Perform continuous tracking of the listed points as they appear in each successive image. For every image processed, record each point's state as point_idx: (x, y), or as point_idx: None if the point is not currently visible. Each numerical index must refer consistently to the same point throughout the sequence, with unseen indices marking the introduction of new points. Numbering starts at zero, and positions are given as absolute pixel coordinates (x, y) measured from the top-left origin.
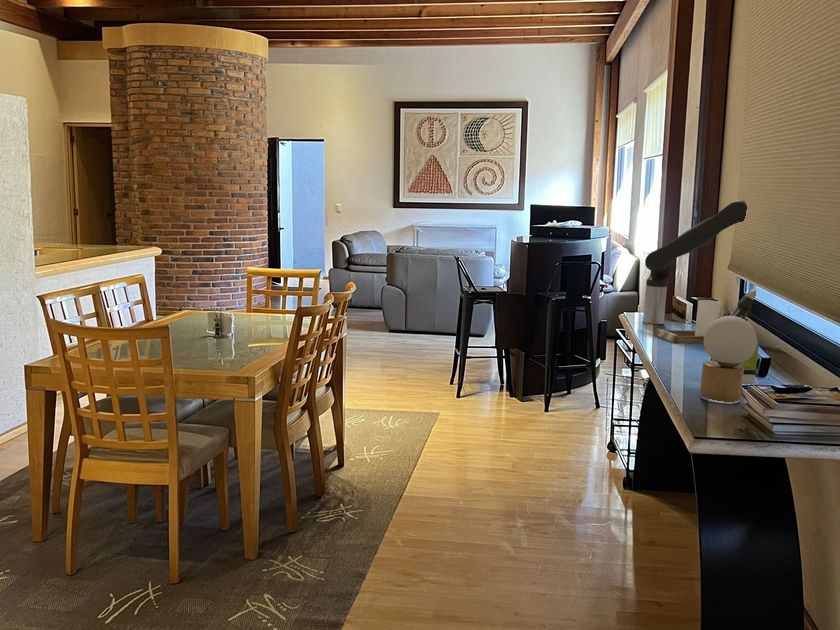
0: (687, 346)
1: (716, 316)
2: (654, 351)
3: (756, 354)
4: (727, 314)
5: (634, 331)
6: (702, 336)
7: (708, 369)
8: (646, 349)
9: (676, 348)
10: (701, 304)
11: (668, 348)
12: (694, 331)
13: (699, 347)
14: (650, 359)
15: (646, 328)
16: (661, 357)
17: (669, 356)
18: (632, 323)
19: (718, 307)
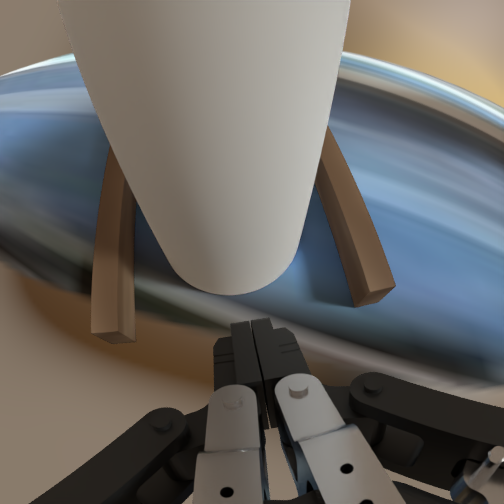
0: (69, 120)
1: (103, 128)
2: (50, 67)
3: None
4: (472, 425)
5: (352, 54)
6: (116, 158)
7: None
8: (72, 55)
9: (56, 96)
10: None
11: (64, 83)
12: (324, 173)
13: (43, 152)
14: (8, 73)
15: (440, 100)
16: (8, 82)
17: (6, 91)
18: (498, 109)
19: (80, 33)
